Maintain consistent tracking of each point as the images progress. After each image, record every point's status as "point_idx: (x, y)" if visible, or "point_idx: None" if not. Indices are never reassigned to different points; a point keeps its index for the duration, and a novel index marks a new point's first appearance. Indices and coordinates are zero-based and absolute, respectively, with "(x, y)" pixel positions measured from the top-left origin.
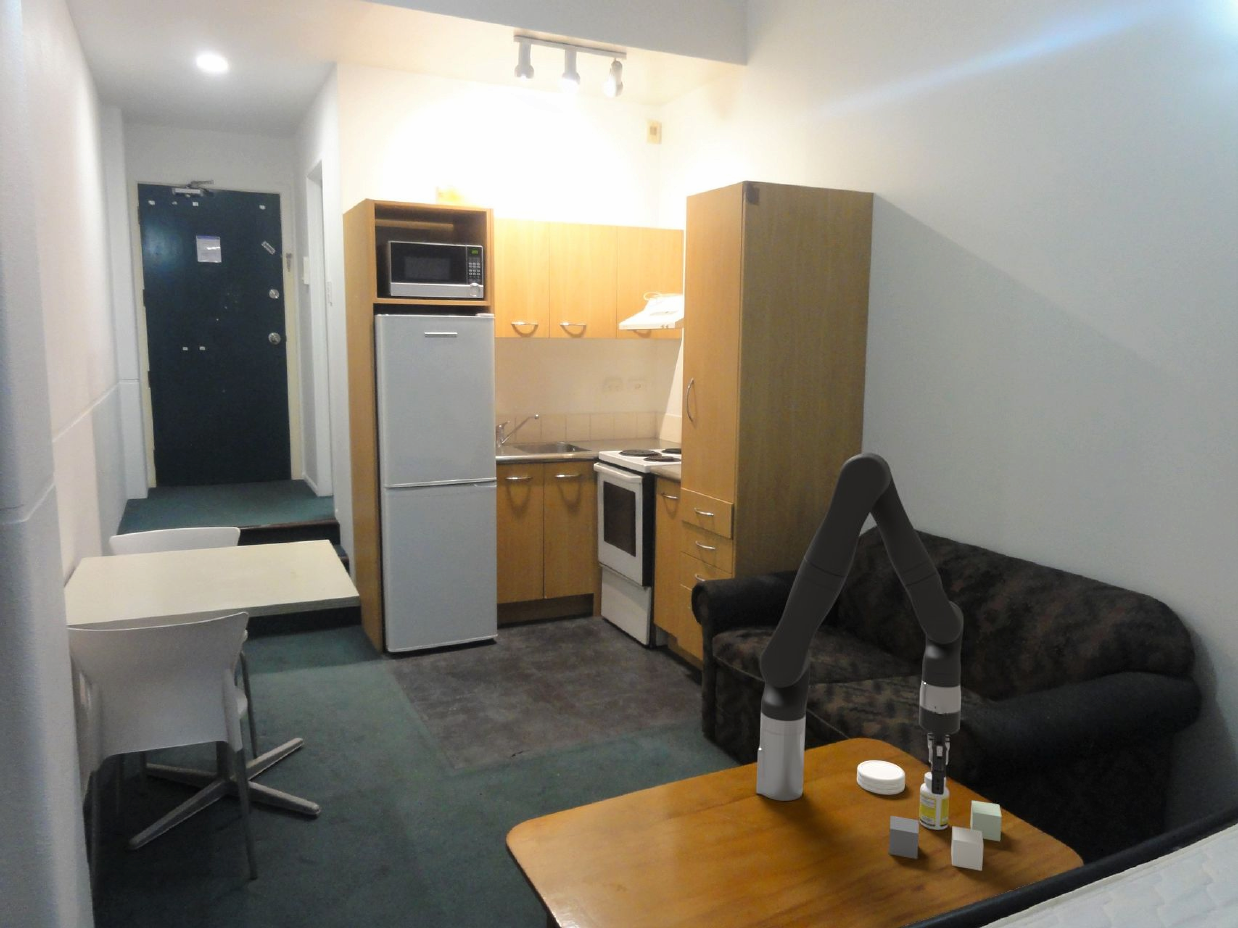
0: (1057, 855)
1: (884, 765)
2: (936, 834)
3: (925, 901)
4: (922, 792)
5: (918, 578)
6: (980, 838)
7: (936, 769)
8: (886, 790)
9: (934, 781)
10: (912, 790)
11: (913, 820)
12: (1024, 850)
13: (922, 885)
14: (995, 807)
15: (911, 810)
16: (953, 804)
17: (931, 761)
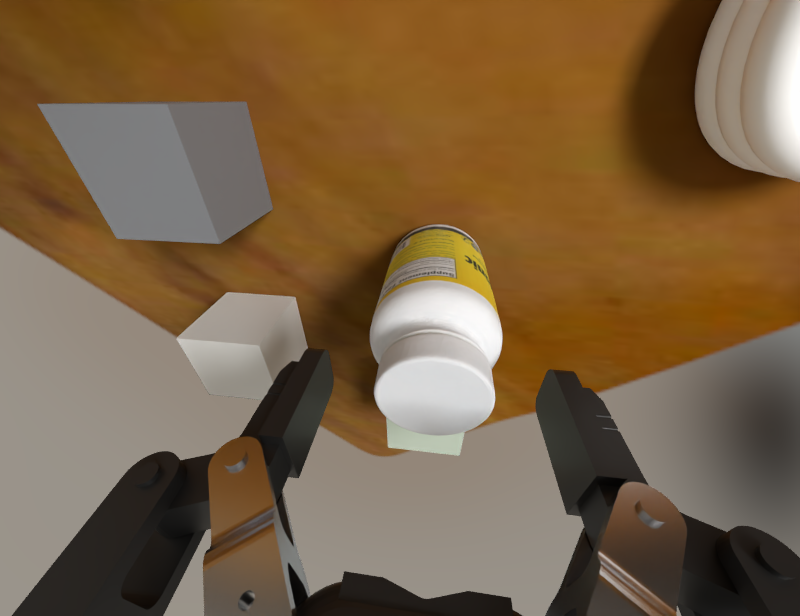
0: (381, 449)
1: None
2: (369, 269)
3: (12, 219)
4: (400, 290)
5: None
6: (236, 393)
7: (173, 514)
8: (718, 62)
9: (257, 412)
10: (723, 206)
11: (204, 223)
12: (376, 417)
13: (72, 215)
14: (439, 446)
15: (523, 196)
16: (584, 331)
17: (211, 548)
